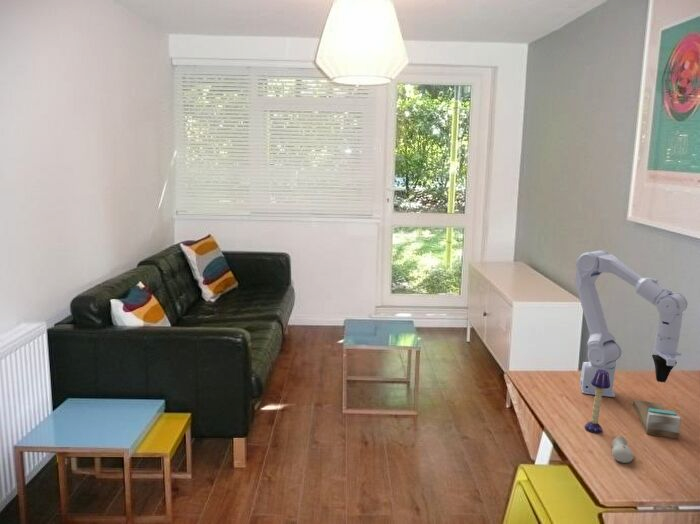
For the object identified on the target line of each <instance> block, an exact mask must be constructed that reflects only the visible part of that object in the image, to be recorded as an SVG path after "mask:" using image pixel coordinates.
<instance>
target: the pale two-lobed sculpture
mask: <svg viewBox="0 0 700 524" xmlns="http://www.w3.org/2000/svg"><path fill="white" fill-rule="evenodd" d="M611 449H612V450H611V454H612V457H613V458H614V459H615V460H616V461H618V462H619V463H622V464H626V463H627V464H628V463H630V462H631V461H632V460H633V459H634V457H635V456H634V453H633V452H632V449H631V448H630V447H629V446H628V442H627V439H626V438H625V437H624V436H622V435H621V436H617V437H615V438H614V439H613V440H612V441H611Z"/></svg>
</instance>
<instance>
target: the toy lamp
mask: <svg viewBox="0 0 700 524" xmlns="http://www.w3.org/2000/svg"><path fill="white" fill-rule="evenodd" d="M591 384H592V385H593V386H595V387H596V392H595V395H594V397H593V400H594V401H593V405H592V406H593V407H592V413H591V419H590V421H589V422H587V423H586V424H585V425H584V429H585V430H586V431H588V432H589V433H594V434H600V433H602V432H603V429H602V426H601V425H600V423H599V417H600V411H601V407H602V406H601V405H602V404H601V402H602V397H603V396H602V391H603V389H607V388H609V387H610V380H609V373H608V372H607V371H606V370H601V369H598V370H597V371H596V372H595V374H594V376H593V379H592V381H591Z"/></svg>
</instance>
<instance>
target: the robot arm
mask: <svg viewBox="0 0 700 524" xmlns="http://www.w3.org/2000/svg"><path fill="white" fill-rule="evenodd" d="M575 267H576V270H575V276H574V283H575V286H576V291H577V294H578V298H579V301H580V305H581V308H582V311H583V315H584V319H585V321H586V322H585V323H586V326H587V330H588V333H589V338H588V340H587V343H586V344H587V358H588V361H582V366H581V370H580V371H581V372H580V381H579V386H580V389H581V393H583V394H585V395H586V394H587V395H593V396H595V392H596V387H595V386H593V385H592V384H591V381H592V379H593V376H594V374H595V372H596V371H597V370H598V369H601V370H606V371H607V372H608V373H609V380H610V387H609V388H607V389H603V391H602V396H601V397H608V398H609V397H610V398H616V394H615V392H614V381H615V375H616V366H617V361H618V360H619V359H620V358H621V356H622V348H621V346H620V344H618V343H617V341H616V339H615V336H614V335H613V334H612V333H611V332H610V331H609V328H608V325H607V322H606V318H605V314H604V312H603V308H602V305H601V301H600V298H599V294H598V291H597V286H596V283H595V282H596V281H597V280H598V278H599V277H600V276H601V274H602V273H610V274H613V275H614V276H616V277H617V278H619V279H621V280H623V281H624V282H626V283H627V284H630V286H633V287H634V288H635V293H636V294H637V295H639V296H640V297H641V298H643V299H645V300H646V301H647V302H649V303H650V304H652V305H653V306H655V307H656V309H657V311H658V313H659V315H658V320H657V327H656V334H655V341H654V347H653V349H652V352H653V353H654V354H652V355H651V357H652V360H653V362H654V368H655V370H654V371H655V379H656V381H657V382H659V383H666V382H667V380H668V378H669V375H670V373H671V372H672V370H673V369H674V367H676V365H677V363H678V362H677V358H678V356H679V357H680V356H681V357H682V355H683V354H682V352H681V351H680V350H679V351H678V347H679V342H680V335H681V328H682V322H683V315H684V314H683V313H684V312H685V311H686V310H687V308H688V301H687V298H686V297H685V296H684V295H683V294H682V293H680V292H673V289H671V288H667V287H665V286H663V284H660V283H659V282H658V281H659V280H658V279H656V278H655V277H653V278H652V277H643V276H641V275H639V273H637V272H635V271H634V270H633V269H632V268H630V267H629V266H627V265H626V264H625V263H623V262H622V261H620V260H619V259H618V258H617V257H616V256H615V255H614V254H611V253H609V252H608V251H606V250H604V249H600V250H599V249H598V250H596V251H587V252H583V253H581V254H580V256H579V257H578V258H577V259H576V261H575Z"/></svg>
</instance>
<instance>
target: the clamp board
mask: <svg viewBox="0 0 700 524" xmlns="http://www.w3.org/2000/svg"><path fill="white" fill-rule="evenodd" d="M632 407H633V408H634V410H635V412H636V414H637V417H638V419H639V421H640V423H641V425H642V428H643V430H644V432H645V433H646V435H652V436H657V437H658V436H659V437H664V438H665V437H667V438H672V439H679V434H680V433H679V430H680V427H681V426H680V424H681V419H682V418H681V417H680V416H679V415H677V416H674V415H666V414H659V413H652V412H648V408H652V409H660V410H666V409H665V408H664V405H663V404H662V403H661V402H653V401H646V400H638V399H633V401H632ZM647 415H648V416H647Z"/></svg>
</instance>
